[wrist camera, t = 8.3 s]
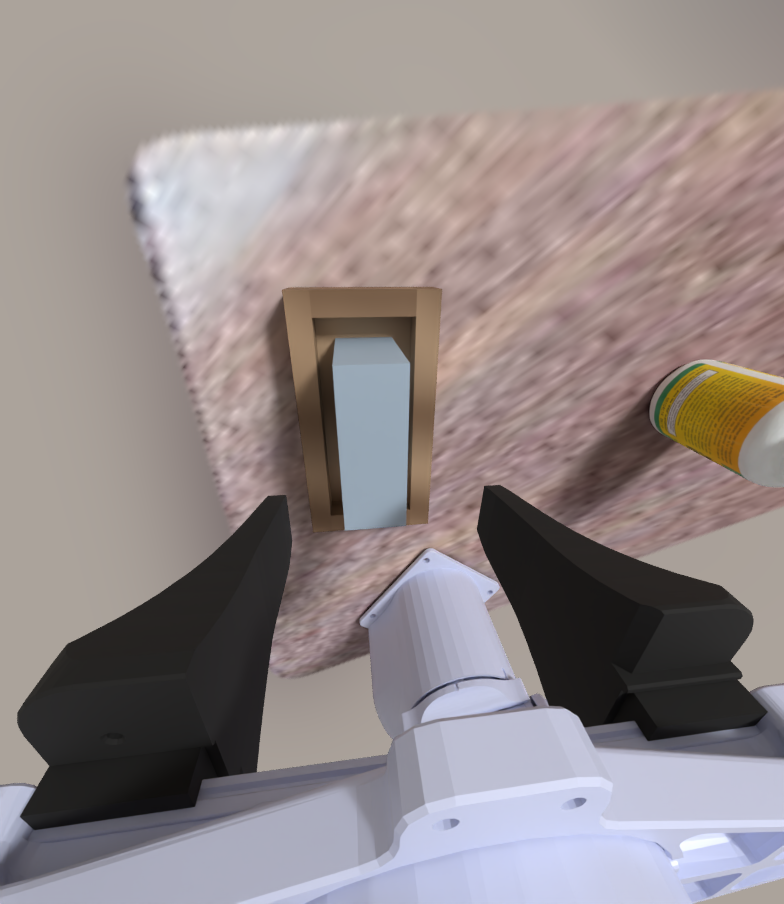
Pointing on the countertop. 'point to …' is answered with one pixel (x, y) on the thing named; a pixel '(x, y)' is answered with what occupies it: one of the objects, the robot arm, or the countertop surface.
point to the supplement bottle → (725, 417)
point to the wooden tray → (311, 349)
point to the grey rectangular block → (372, 430)
